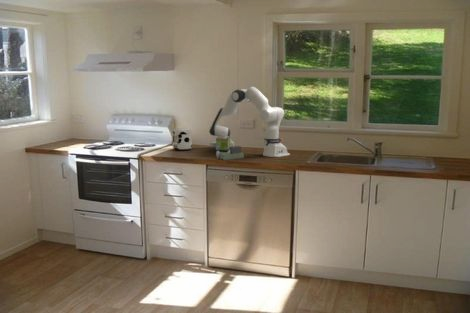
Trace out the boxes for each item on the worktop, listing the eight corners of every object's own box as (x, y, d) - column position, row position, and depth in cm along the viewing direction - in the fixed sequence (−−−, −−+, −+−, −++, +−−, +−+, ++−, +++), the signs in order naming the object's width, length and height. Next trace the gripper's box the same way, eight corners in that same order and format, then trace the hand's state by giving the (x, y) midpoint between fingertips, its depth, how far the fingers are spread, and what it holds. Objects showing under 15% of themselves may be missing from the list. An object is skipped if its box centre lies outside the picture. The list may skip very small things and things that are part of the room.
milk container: (193, 148, 407) (192, 128, 403) (191, 151, 390) (191, 130, 386) (173, 148, 406) (173, 128, 403) (171, 151, 389) (170, 130, 386)
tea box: (228, 156, 365) (227, 138, 363) (215, 156, 366) (215, 138, 364) (230, 153, 380) (230, 135, 377) (218, 153, 381) (218, 135, 379)
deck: (238, 156, 367) (238, 145, 365) (243, 157, 359) (243, 146, 358) (216, 158, 357) (216, 147, 356) (221, 160, 350) (221, 148, 348)
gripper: (209, 139, 392) (209, 142, 378) (233, 139, 393) (234, 141, 380) (209, 146, 393) (209, 149, 380) (233, 146, 395) (234, 149, 381)
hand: (222, 145), depth 380 cm, fingers closed
